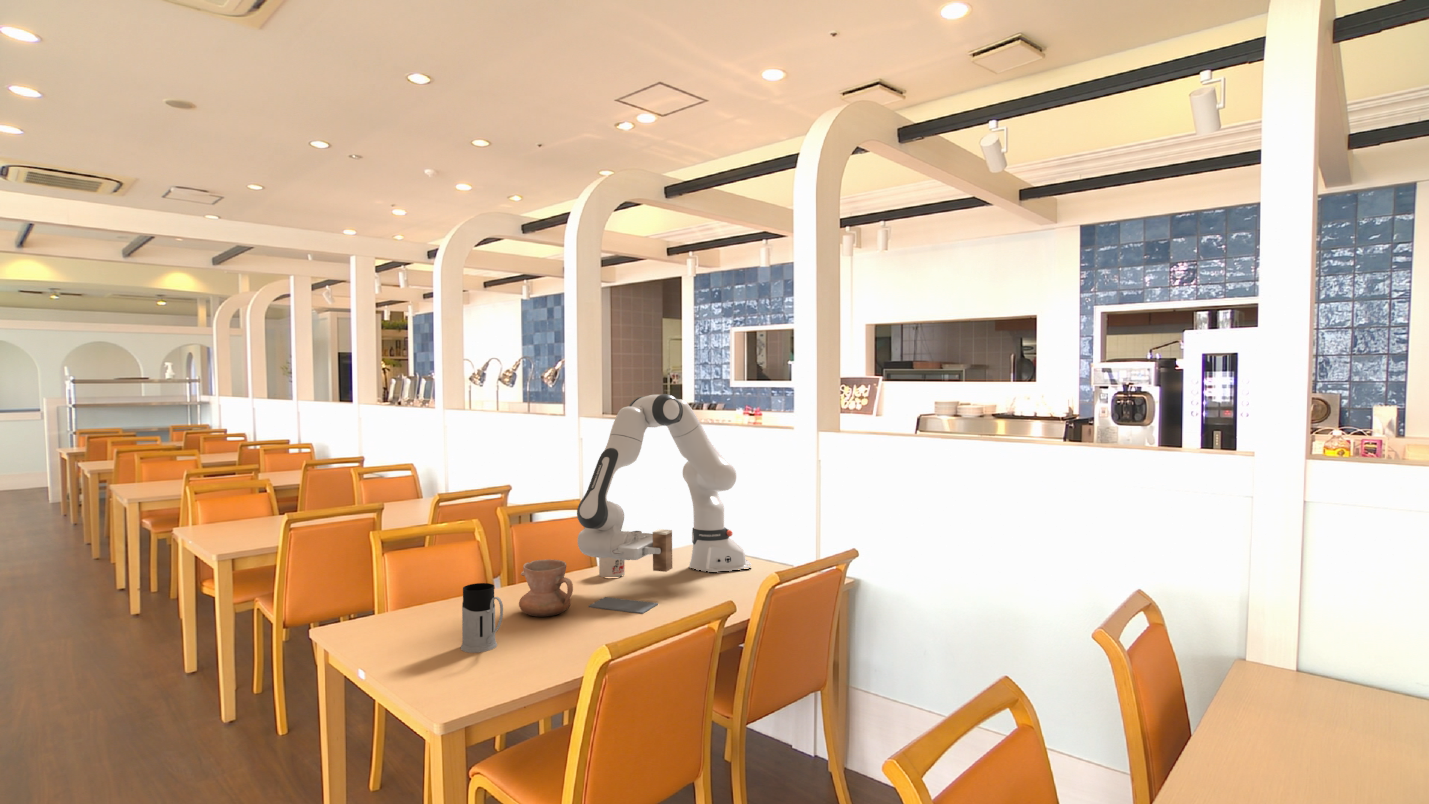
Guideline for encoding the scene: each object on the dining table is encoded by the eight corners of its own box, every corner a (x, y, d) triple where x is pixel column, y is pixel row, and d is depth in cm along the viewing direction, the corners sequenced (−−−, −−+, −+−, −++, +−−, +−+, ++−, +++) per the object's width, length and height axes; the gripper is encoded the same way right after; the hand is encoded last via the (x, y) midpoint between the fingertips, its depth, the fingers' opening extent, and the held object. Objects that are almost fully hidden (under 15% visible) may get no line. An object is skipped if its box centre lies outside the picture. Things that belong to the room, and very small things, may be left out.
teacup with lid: (615, 580, 253) (615, 545, 253) (593, 577, 257) (593, 543, 257) (634, 572, 264) (634, 539, 264) (612, 569, 268) (612, 537, 268)
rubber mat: (588, 607, 222) (588, 605, 222) (605, 598, 231) (605, 597, 231) (643, 613, 216) (643, 612, 216) (658, 604, 225) (658, 603, 225)
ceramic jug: (504, 615, 214) (504, 565, 214) (539, 601, 227) (539, 555, 227) (553, 626, 206) (554, 574, 205) (587, 611, 218) (587, 563, 218)
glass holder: (484, 638, 195) (483, 580, 194) (517, 650, 186) (517, 589, 185) (453, 647, 188) (453, 587, 188) (486, 660, 179) (486, 597, 178)
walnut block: (653, 570, 232) (652, 531, 232) (659, 567, 236) (658, 529, 236) (666, 571, 230) (665, 532, 230) (672, 568, 235) (671, 530, 234)
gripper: (608, 542, 228) (650, 545, 223) (639, 529, 247) (678, 532, 242) (609, 563, 228) (650, 566, 223) (639, 548, 247) (678, 551, 242)
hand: (665, 548), depth 233 cm, fingers closed on walnut block, 4 cm apart
